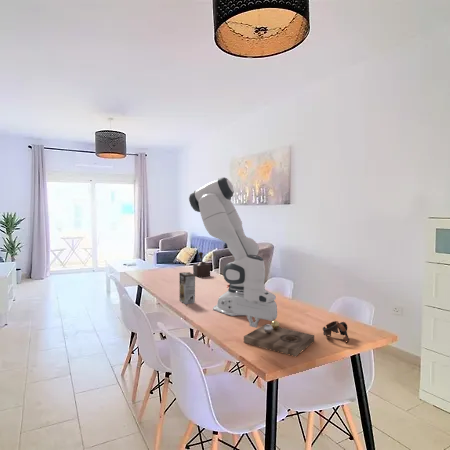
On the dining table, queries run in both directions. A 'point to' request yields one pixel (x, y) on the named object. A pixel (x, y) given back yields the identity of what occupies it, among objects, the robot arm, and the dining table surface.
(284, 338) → the seat plate
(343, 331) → the dark brown arched piece
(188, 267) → the dining table surface
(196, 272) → the manual coffee grinder
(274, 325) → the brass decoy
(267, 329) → the steel ball
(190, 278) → the coffee box
